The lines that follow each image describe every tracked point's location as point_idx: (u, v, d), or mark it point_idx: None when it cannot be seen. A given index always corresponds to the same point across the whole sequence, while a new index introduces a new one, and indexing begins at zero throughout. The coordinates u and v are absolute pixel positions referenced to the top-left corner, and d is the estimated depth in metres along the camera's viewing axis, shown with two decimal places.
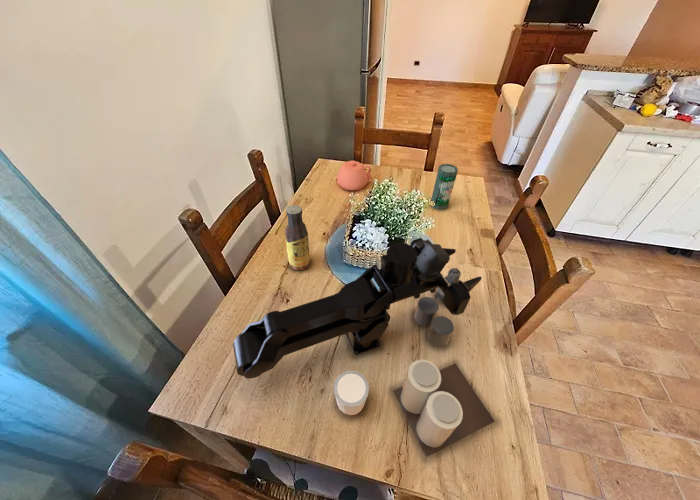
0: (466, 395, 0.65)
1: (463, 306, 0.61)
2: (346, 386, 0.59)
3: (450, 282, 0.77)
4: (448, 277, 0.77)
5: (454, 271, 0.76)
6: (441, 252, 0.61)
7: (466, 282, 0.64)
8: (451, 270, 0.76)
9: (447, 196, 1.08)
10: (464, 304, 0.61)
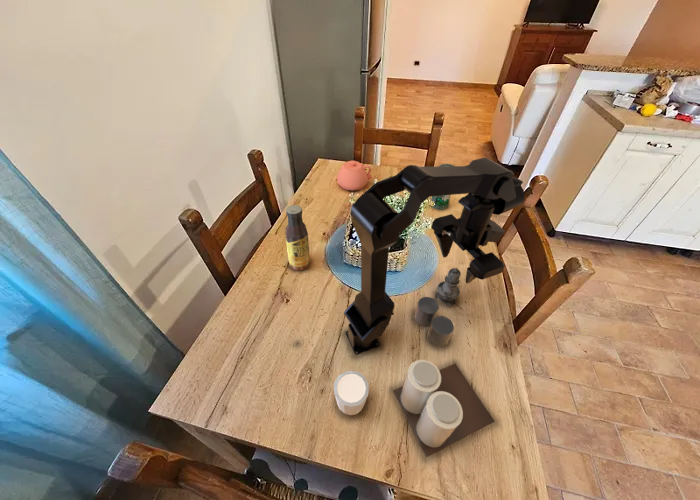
0: (466, 395, 0.65)
1: (494, 273, 0.63)
2: (346, 386, 0.59)
3: (450, 282, 0.77)
4: (448, 277, 0.77)
5: (454, 271, 0.76)
6: None
7: None
8: (451, 270, 0.76)
9: (447, 196, 1.08)
10: (496, 272, 0.64)
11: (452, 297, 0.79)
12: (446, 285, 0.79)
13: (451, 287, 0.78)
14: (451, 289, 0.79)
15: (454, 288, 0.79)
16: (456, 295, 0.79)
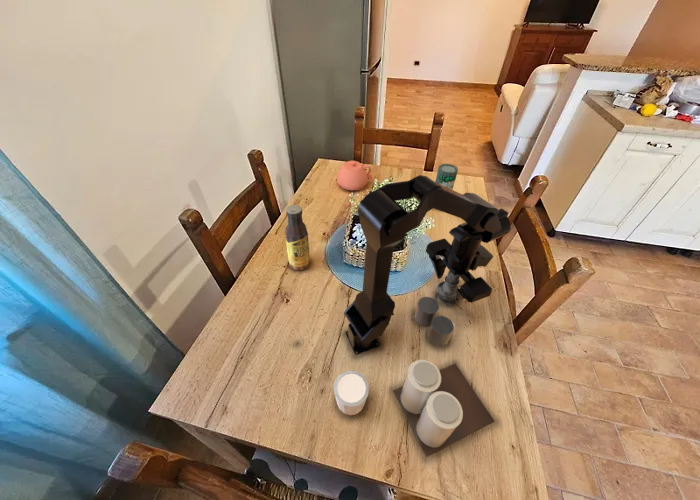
0: (466, 395, 0.65)
1: (482, 296, 0.69)
2: (346, 386, 0.59)
3: (450, 282, 0.77)
4: (448, 277, 0.77)
5: None
6: None
7: None
8: None
9: None
10: (484, 296, 0.69)
11: (452, 297, 0.79)
12: (446, 285, 0.79)
13: (451, 287, 0.78)
14: (451, 289, 0.79)
15: (454, 288, 0.79)
16: None
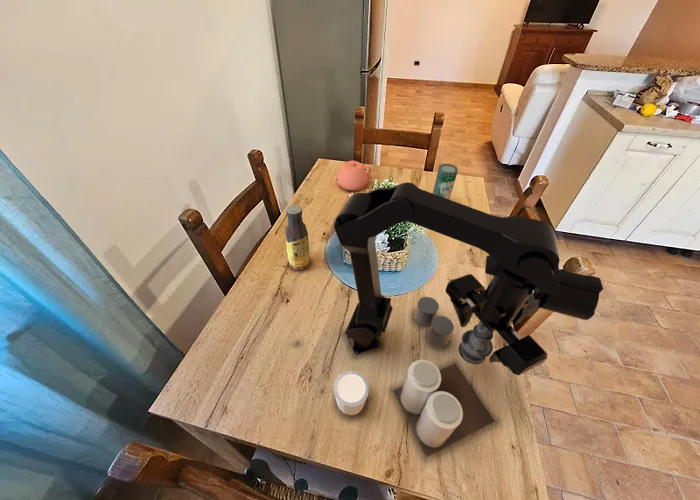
0: (466, 395, 0.65)
1: (533, 366, 0.48)
2: (346, 386, 0.59)
3: (485, 337, 0.56)
4: (481, 332, 0.55)
5: None
6: None
7: None
8: None
9: (447, 196, 1.08)
10: (536, 365, 0.48)
11: (488, 353, 0.58)
12: (478, 341, 0.57)
13: (485, 342, 0.57)
14: (485, 344, 0.57)
15: (488, 341, 0.58)
16: (490, 348, 0.59)
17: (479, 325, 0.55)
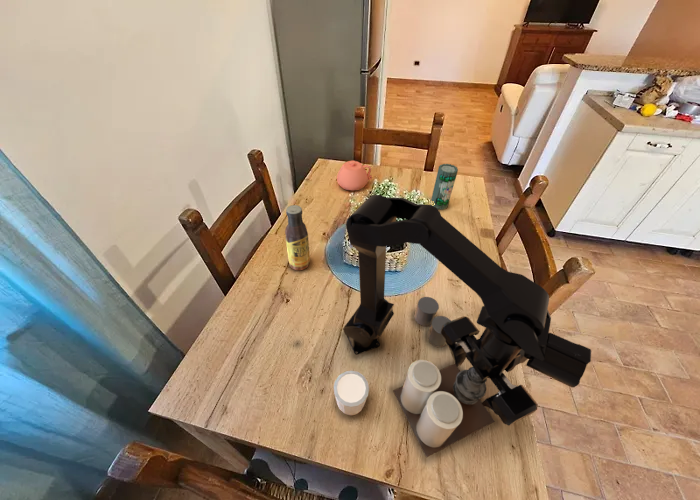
0: None
1: None
2: (346, 386, 0.59)
3: (478, 381, 0.57)
4: (474, 376, 0.57)
5: None
6: None
7: None
8: None
9: (447, 196, 1.08)
10: (526, 415, 0.49)
11: (481, 395, 0.59)
12: (471, 384, 0.58)
13: (478, 385, 0.58)
14: (479, 386, 0.59)
15: None
16: (484, 390, 0.60)
17: (473, 369, 0.57)
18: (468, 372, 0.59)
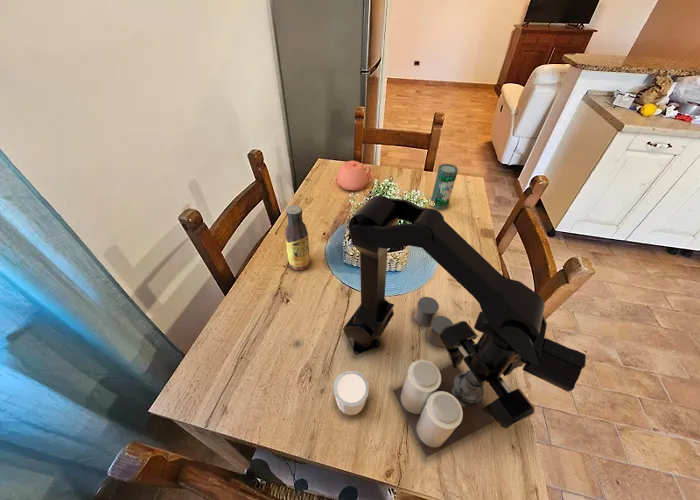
0: None
1: (521, 420, 0.50)
2: (346, 386, 0.59)
3: (469, 381, 0.59)
4: (469, 373, 0.59)
5: None
6: None
7: None
8: None
9: (447, 196, 1.08)
10: (523, 419, 0.50)
11: (467, 399, 0.60)
12: (464, 381, 0.61)
13: (468, 386, 0.60)
14: (469, 389, 0.60)
15: (473, 390, 0.60)
16: (473, 400, 0.60)
17: None
18: (470, 371, 0.61)
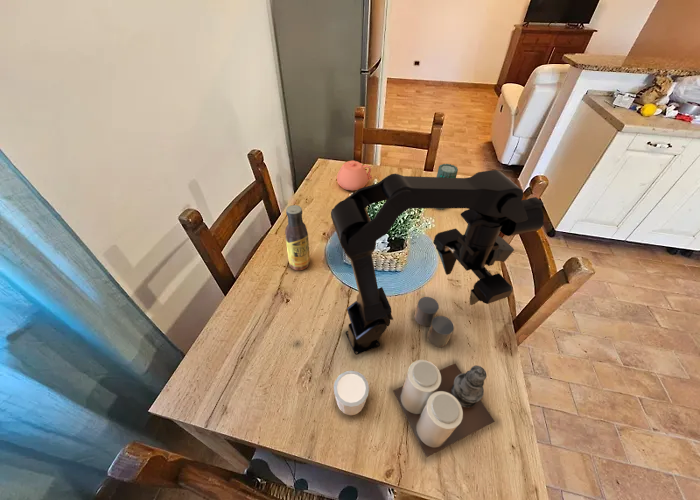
0: None
1: (500, 297, 0.57)
2: (346, 386, 0.59)
3: (469, 381, 0.59)
4: (468, 373, 0.59)
5: (477, 370, 0.57)
6: None
7: None
8: (475, 367, 0.58)
9: None
10: (503, 296, 0.58)
11: (466, 399, 0.60)
12: (464, 381, 0.61)
13: (468, 386, 0.60)
14: (469, 389, 0.60)
15: (473, 390, 0.60)
16: (473, 400, 0.60)
17: (472, 367, 0.59)
18: (470, 371, 0.61)
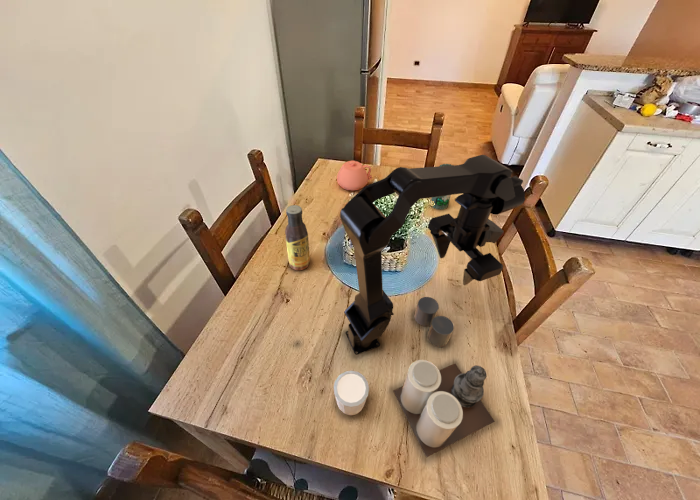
0: None
1: (492, 274, 0.61)
2: (346, 386, 0.59)
3: (469, 381, 0.59)
4: (468, 373, 0.59)
5: (477, 370, 0.57)
6: None
7: None
8: (475, 367, 0.58)
9: (447, 196, 1.08)
10: (494, 274, 0.61)
11: (466, 399, 0.60)
12: (464, 381, 0.61)
13: (468, 386, 0.60)
14: (469, 389, 0.60)
15: (473, 390, 0.60)
16: (473, 400, 0.60)
17: (472, 367, 0.59)
18: (470, 371, 0.61)
